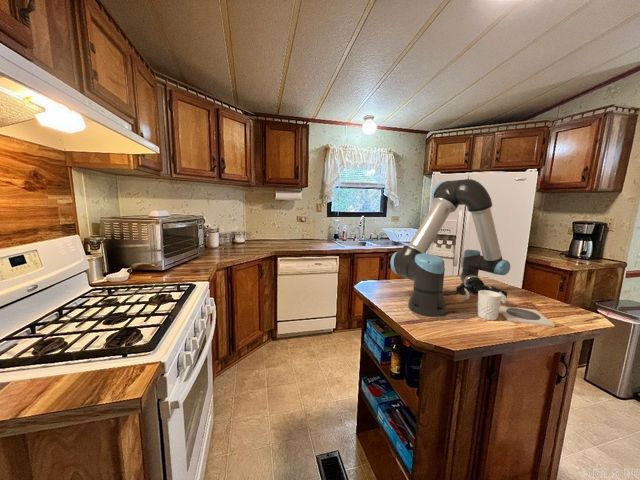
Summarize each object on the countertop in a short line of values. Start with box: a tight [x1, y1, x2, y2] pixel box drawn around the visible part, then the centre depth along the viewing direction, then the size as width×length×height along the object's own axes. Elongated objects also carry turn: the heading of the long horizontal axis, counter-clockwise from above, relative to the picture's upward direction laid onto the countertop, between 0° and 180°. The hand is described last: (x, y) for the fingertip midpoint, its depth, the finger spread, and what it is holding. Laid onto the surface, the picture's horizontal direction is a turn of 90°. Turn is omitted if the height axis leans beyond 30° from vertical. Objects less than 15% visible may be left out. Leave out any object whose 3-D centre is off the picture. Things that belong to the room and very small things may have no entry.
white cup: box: [477, 290, 502, 321], centre depth 106 cm, size 8×8×10 cm
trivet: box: [499, 305, 555, 327], centre depth 108 cm, size 15×15×1 cm
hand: (486, 298), depth 112 cm, fingers open, 13 cm apart
